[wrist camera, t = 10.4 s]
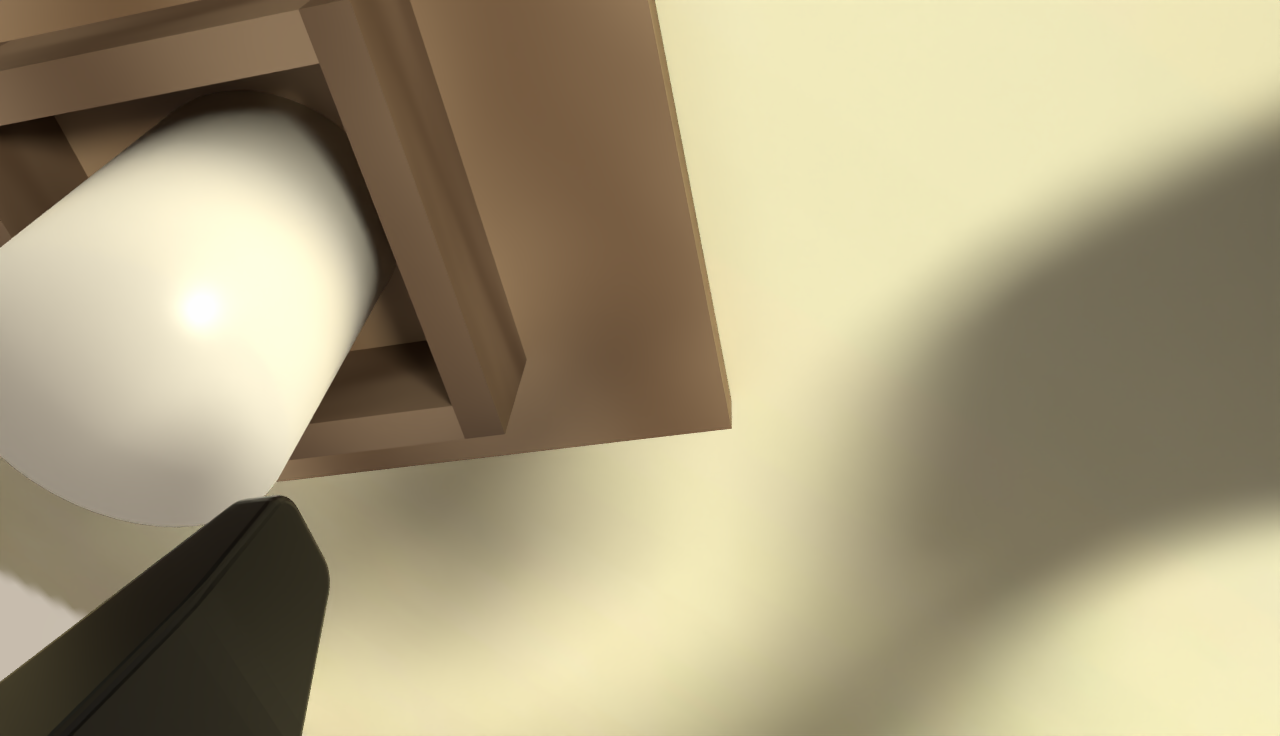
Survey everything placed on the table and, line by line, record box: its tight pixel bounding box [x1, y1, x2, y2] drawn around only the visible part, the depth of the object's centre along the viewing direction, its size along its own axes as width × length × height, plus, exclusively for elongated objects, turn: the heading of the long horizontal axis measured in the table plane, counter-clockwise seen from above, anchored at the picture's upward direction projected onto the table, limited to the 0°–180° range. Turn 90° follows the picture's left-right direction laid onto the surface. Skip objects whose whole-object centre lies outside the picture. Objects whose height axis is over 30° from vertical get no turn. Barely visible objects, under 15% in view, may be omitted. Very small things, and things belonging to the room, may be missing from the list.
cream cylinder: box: [0, 90, 396, 527], centre depth 17 cm, size 5×5×6 cm
